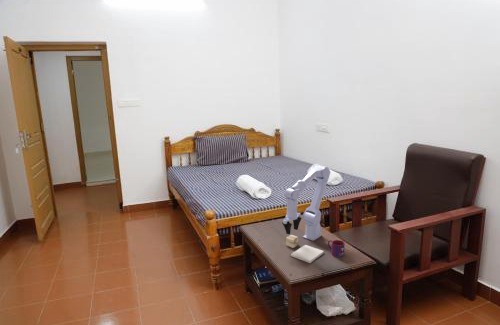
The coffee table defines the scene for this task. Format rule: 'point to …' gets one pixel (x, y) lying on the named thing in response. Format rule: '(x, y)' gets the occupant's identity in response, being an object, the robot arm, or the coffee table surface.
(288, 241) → the maple cube
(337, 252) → the mug
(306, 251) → the ceramic tile
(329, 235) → the coffee table surface
